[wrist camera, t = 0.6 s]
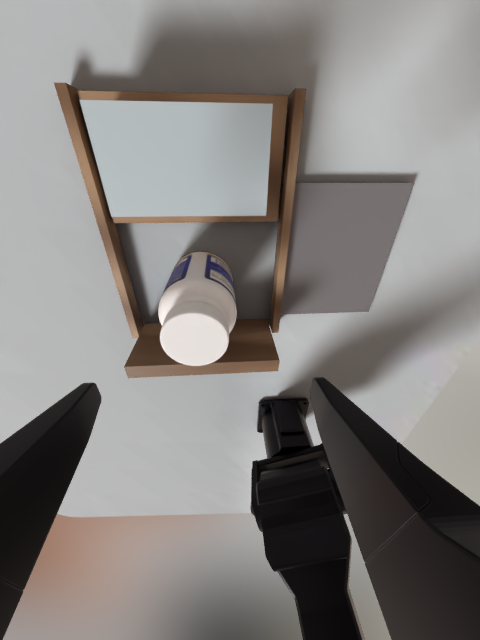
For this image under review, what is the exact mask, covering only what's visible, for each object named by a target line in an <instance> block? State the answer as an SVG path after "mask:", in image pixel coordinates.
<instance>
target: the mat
mask: <svg viewBox="0 0 480 640" xmlns="http://www.w3.org/2000/svg"><path fill="white" fill-rule="evenodd" d="M413 184H414V183H295V191H294V199H293V208H292V217H291V226H290V234H289V243H288V252H287V261H286V269H285V278H284V287H283V296H282V305H281V313H280V314H307V313H338V312H369V309H370V306H371V304H372V301H373V298H374V295H375V292H376V289H377V287H378V284H379V281H380V278H381V275H382V272H383V269H384V267H385V264H386V261H387V258H388V255H389V252H390V250H391V247H392V244H393V241H394V238H395V235H396V233H397V230H398V227H399V224H400V221H401V218H402V216H403V213H404V210H405V207H406V204H407V201H408V198H409V196H410V193H411V190H412V187H413Z"/></svg>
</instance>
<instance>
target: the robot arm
mask: <svg viewBox="0 0 480 640" xmlns="http://www.w3.org/2000/svg"><path fill="white" fill-rule="evenodd" d="M310 397H311V402H312V406H313V410H314V415H315V419H316V423H317V427H318V431H319V434H320V437H321V440H322V443H321V444H320V445H317V446H314V445H313V442H312V439H311V436H310V433H309V430H308V427H307V424H306V421H305V416H306V413H307V409H308V405H309V401H308V399H306V398H302V399H283V400H264V401H260V402H259V407H258V421H257V431H258V432H259V433H263V435H264V441H265V448H266V454H267V459H264V460H260V461H257V460H256V461H253V467H252V491H251V513H252V514H253V515H254V516H255V518H256V522H257V525H258V527H259V529H260V531H261V532H263V537H264V546H265V554H266V558H267V560H268V562H269V564H270V566H271V568H272V569H273V571H277V572H278V573H279V575H280V576H281V578H282V579H283V581H284V583H285V584H286V586H287V588H288V589H289V591H290V592H291V594H292V596H293V597H294V599H295V602H296V606H297V611H298V616H299V621H300V626H301V632H302V636H303V640H365V638H364V635H363V631H362V629H361V625H360V622H359V619H358V615H357V612H356V609H355V606H354V602H353V599H352V596H351V593H350V589H349V573H350V559H351V545H352V539H351V536H350V532H349V530H348V527H347V524H346V521H345V518H344V515H343V514H348V516H349V519H350V522H351V525H352V528H353V531H354V533H355V536H356V539H357V542H358V545H359V547H360V551H361V553H362V556H363V559H364V561H365V562H366V563H365V565H366V568H367V571H368V574H369V576H370V579H371V582H372V585H373V588H374V591H375V594H376V597H377V599H378V602H379V605H380V607H381V611H382V613H383V616H384V619H385V622H386V625H387V628H388V631H389V634H390V636H391V639H392V640H480V506H479V505H478V504H476V503H475V502H473V501H472V500H471V499H470V498H468V497H467V496H466V495H464V494H463V493H462V492H460V491H459V490H458V489H456V488H455V487H454V486H453V485H451V484H450V483H449V482H447V481H446V480H445V479H443V478H442V477H441V476H439V475H438V474H437V473H436V472H434V471H433V470H432V469H430V468H429V467H428V466H427V465H425V464H424V463H423V462H422V461H420V460H419V459H418V458H417V457H416V456H414V455H413V454H412V453H411V452H410V451H408V450H407V449H406V448H405V447H404V446H403V445H402V444H400V443H399V442H397V440H396V439H394V438H393V437H392V436H391V435H390V434H389V433H388V432H386V431H385V430H384V429H383V428H382V427H381V426H379V425H378V424H377V423H376V422H375V421H374V420H373V419H371V418H370V417H369V416H368V415H367V414H366V413H364V412H363V411H362V410H361V409H360V408H359V407H358V406H356V405H355V404H354V403H353V402H352V401H351V400H349V399H348V398H347V397H346V396H345V395H344V394H342V393H341V392H340V391H339V390H338V389H337V388H336V387H334V386H333V385H332V384H331V383H330V382H329V381H327V380H326V379H325V378H323V377H315V378H314V379H313V381H312V385H311V388H310ZM100 403H101V395H100V392H99V390H98V388H97V385H96V384H95V383H83V384H81V385H80V386H79V387H77V388H76V389H74V390H73V391H72V392H70V393H69V394H68V395H66V396H65V397H64V398H62V399H61V400H59V401H58V402H57V403H55V404H54V405H53V406H51V407H50V408H48V409H47V410H46V411H44V412H43V413H42V414H40V415H39V416H38V417H36V418H35V419H33V420H32V421H31V422H29V423H28V424H27V425H25V426H24V427H22V428H21V429H20V430H18V431H17V432H16V433H14V434H13V435H12V436H10V437H9V438H7V439H6V440H5V441H3V442H2V443H1V444H0V640H3V637H4V635H5V632H6V630H7V628H8V626H9V623H10V621H11V619H12V617H13V614H14V612H15V610H16V607H17V605H18V602H19V600H20V598H21V596H22V594H23V590H24V588H25V586H26V583H27V581H28V579H29V577H30V575H31V572H32V570H33V568H34V565H35V563H36V561H37V558H38V556H39V554H40V551H41V549H42V547H43V544H44V542H45V540H46V538H47V535H48V533H49V531H50V528H51V526H52V524H53V522H54V519H55V517H56V515H57V512H58V510H59V508H60V505H61V503H62V501H63V498H64V496H65V494H66V492H67V489H68V487H69V485H70V482H71V480H72V478H73V475H74V473H75V471H76V469H77V466H78V464H79V462H80V459H81V457H82V455H83V452H84V450H85V448H86V445H87V443H88V441H89V438H90V435H91V432H92V429H93V426H94V422H95V419H96V416H97V413H98V410H99V407H100ZM327 468H329V469H327Z"/></svg>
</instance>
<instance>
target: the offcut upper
mask: <svg viewBox="0 0 480 640" xmlns="http://www.w3.org/2000/svg"><path fill="white" fill-rule="evenodd" d="M80 104H81V107H82V111H83V115H84V118H85V122H86V126H87V129H88V133H89V137H90V140H91V144H92V148H93V151H94V155H95V159H96V162H97V166H98V170H99V173H100V177H101V180H102V184H103V188H104V191H105V195H106V199H107V202H108V206H109V210H110V213H111V217H161V216H266V211H267V194H268V177H269V160H270V143H271V127H272V110H273V104H261V103H211V102H161V101H111V100H80Z"/></svg>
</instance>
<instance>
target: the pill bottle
mask: <svg viewBox="0 0 480 640" xmlns="http://www.w3.org/2000/svg"><path fill="white" fill-rule="evenodd" d="M158 314H159V320H160V323H161V325H162V328H161V332H160V342H161V345H162V348H163V350H164V351H165V352H166V354H167V355H168V356H170V357H171V358H172V359H174V360H175V361H177V362H179V363H182V364H185V365H190V366H202V365H207V364H210V363H212V362H215V361H216V360H218V359H219V358H220V357H221V356H223V354H224V353H225V351H226V350H227V347H228V344H229V334H230V332H231V331H232V329H233V327H234V325H235V322H236V317H237V307H236V299H235V291H234V284H233V278H232V274H231V271H230V269H229V267H228V265H227V264H226V263H225V262H224V261H223V260H222V259H221V258H219V257H218V256H216V255H214V254H211V253H208V252H194V253H190V254H188V255H186V256H184V257H183V258H181V259H180V260H179V261H178V263H177V264H176V266H175V267H174V269H173V272H172V274H171V276H170V278H169V281H168V283H167V285H166V288H165V290H164V292H163V295H162V297H161V300H160V303H159V308H158Z"/></svg>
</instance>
